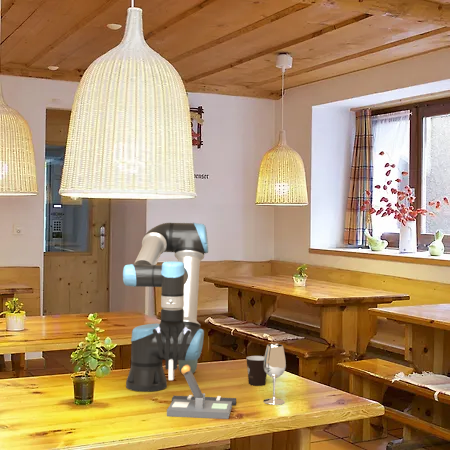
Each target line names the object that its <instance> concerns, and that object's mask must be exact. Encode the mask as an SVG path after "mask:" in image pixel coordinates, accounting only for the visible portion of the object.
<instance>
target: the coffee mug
mask: <svg viewBox="0 0 450 450" xmlns="http://www.w3.org/2000/svg"><path fill="white" fill-rule="evenodd" d="M264 357H265V355H263V356H262V355H251V356H246V359H245V360H246V370H247V378H248V385H249V384H250V386H252V385H253V386H254V387H263V386H265V385H266V382H267V375H268V374H266V372H265V371H264Z"/></svg>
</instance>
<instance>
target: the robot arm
mask: <svg viewBox="0 0 450 450" xmlns="http://www.w3.org/2000/svg"><path fill="white" fill-rule="evenodd" d="M207 231H208V230H207V227H206V225H205V224H204V223H196V222H186V223H185V222H164V223H163V222H162V223H160V224H158V225H156V226H154V227H152V228H151V229H149V230H148V231H147V232H146V233H145V234H144V236H143V237H142V241H141V249H140V251H139V253H138V254H137V257H136V259H135V261H134V263H130V264H126V265H124V266H123V270H122V281H123V284H124V285H125V286H126V287H134V288H136V287H139V288H142V287H143V288H144V287H146V288H147V287H149V288H153V287H154V288H161V293H160V295H161V297H160V300H161V301H160V302H161V303H160V307H161V310H160V322H159V323H147V324H142V325H138V326H135V327H133V329H132V331H131V338H130V342H131V347H130V348H131V349H130V350H131V351H130V352H131V355H130V358H131V359H130V360H131V361H130V363H131V364H130V369H129V372H128V375H127V378H126V381H125V385H126V386H125V388H126V389H128V390H131V391H135V392H144V393H145V392H158V391H162V390H165V389H167V387H168V385H167V384H168V381H174V379H175V370H176V371H177V369H178V367H179V364H178V360H185V361H188V360H197V359H200V357H201V354H202V350H203V345H204V336H205V330H204V329H202V328H201V323H199V321H198V320H197V318H198V305H199V304H198V301H199V283H200V271H201V270H200V267H201V266H200V265H201V262H202V260H203V259H204V258H205V254H208V253H209V241H208V232H207ZM163 253H174V257H175V259H176V260H177V261H164V262H162V264H159V265H158V262H159V259H160V257H161V255H162V254H163ZM163 360H164V361H165V364H164V365H165V370H168V372H167V373H168V376H167V377H168V379H167V377H166V374H165V370H164V368H163ZM197 361H198V360H197ZM167 380H168V381H167Z"/></svg>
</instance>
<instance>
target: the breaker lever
mask: <svg viewBox="0 0 450 450" xmlns="http://www.w3.org/2000/svg"><path fill="white" fill-rule="evenodd" d="M181 372H182V373H181ZM181 372H180V373H181V374H182V375H183V376H184V379H185V381H186V382H187V384H188V387H189V389H190V391H191V394H192V395H193V396H194V398H195V399H196V398H203V394H202V390H201V388H200V386H199V384H198V382H197V380H196V378H195V376H194V373H192V371H191V367H190V366H189V365H184V366H183V368H182V370H181Z"/></svg>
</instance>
